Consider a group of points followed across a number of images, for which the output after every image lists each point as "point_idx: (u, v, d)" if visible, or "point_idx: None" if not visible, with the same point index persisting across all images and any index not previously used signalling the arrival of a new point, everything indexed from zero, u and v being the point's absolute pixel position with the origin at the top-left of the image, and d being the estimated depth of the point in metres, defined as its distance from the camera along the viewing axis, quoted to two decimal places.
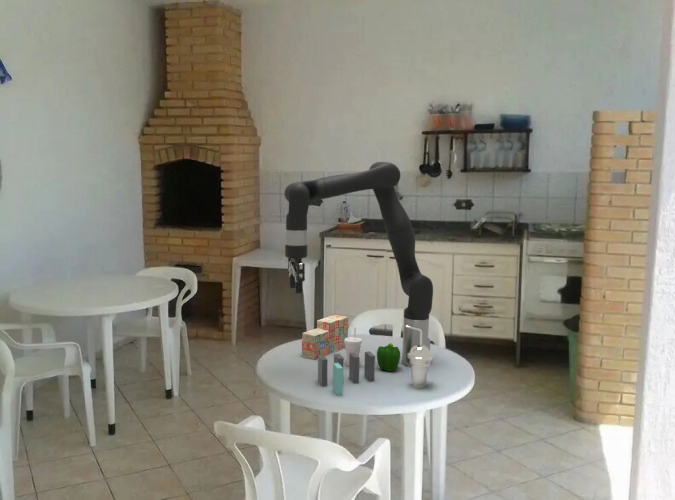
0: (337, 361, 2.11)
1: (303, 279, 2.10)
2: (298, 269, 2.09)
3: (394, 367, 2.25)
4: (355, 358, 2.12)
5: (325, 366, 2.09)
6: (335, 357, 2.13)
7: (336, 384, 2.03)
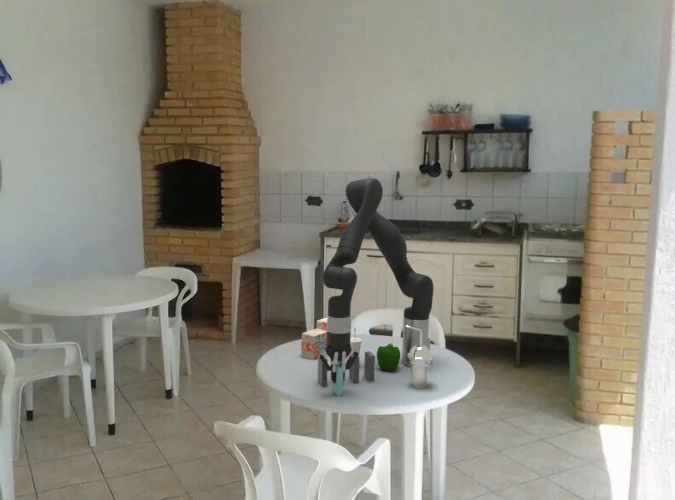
0: (337, 361, 2.11)
1: None
2: None
3: (394, 367, 2.25)
4: None
5: None
6: None
7: (336, 384, 2.03)
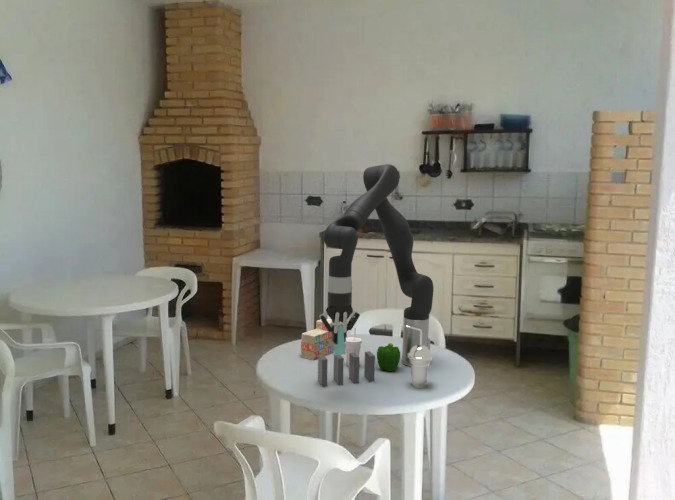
0: (337, 361, 2.11)
1: None
2: None
3: (394, 367, 2.25)
4: (355, 358, 2.12)
5: (325, 366, 2.09)
6: (335, 357, 2.13)
7: (338, 343, 2.00)
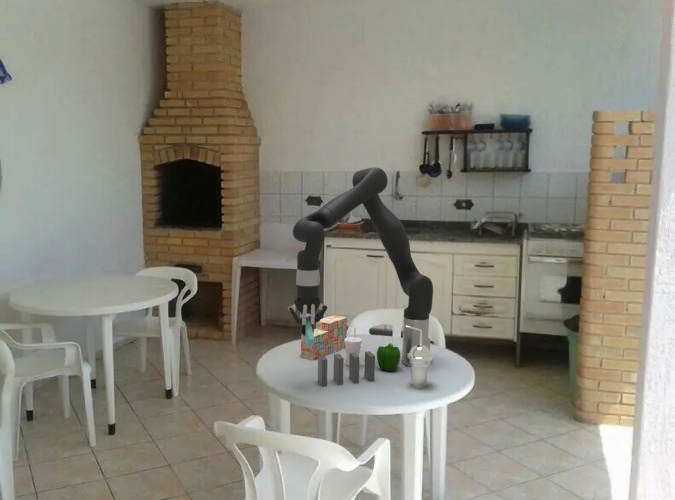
0: (337, 361, 2.11)
1: None
2: None
3: (394, 367, 2.25)
4: (355, 358, 2.12)
5: (325, 366, 2.09)
6: (335, 357, 2.13)
7: (306, 332, 2.06)
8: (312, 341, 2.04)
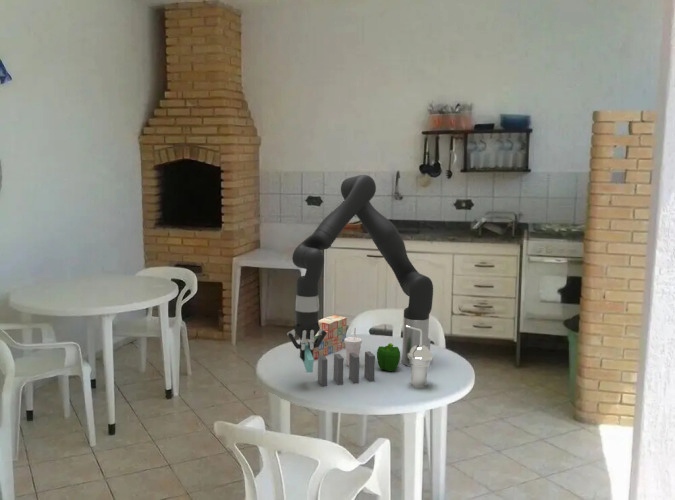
0: (337, 361, 2.11)
1: None
2: None
3: (394, 367, 2.25)
4: (355, 358, 2.12)
5: (325, 366, 2.09)
6: (335, 357, 2.13)
7: (305, 356, 2.07)
8: (312, 363, 2.04)
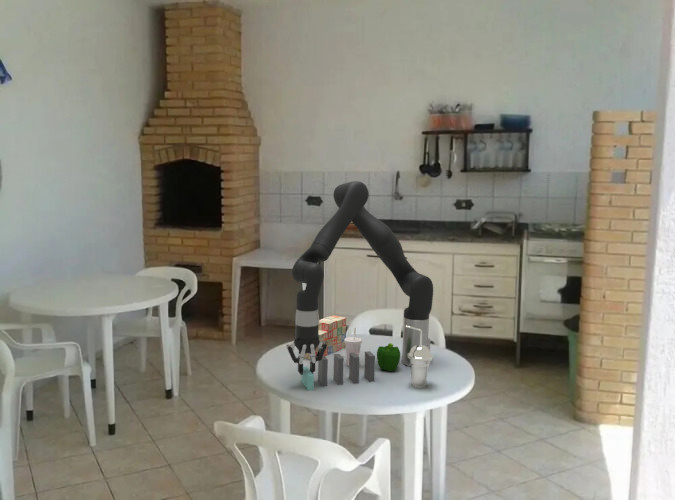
0: (337, 361, 2.11)
1: None
2: None
3: (394, 367, 2.25)
4: (355, 358, 2.12)
5: (325, 366, 2.09)
6: (335, 357, 2.13)
7: (305, 375, 2.09)
8: (312, 379, 2.06)
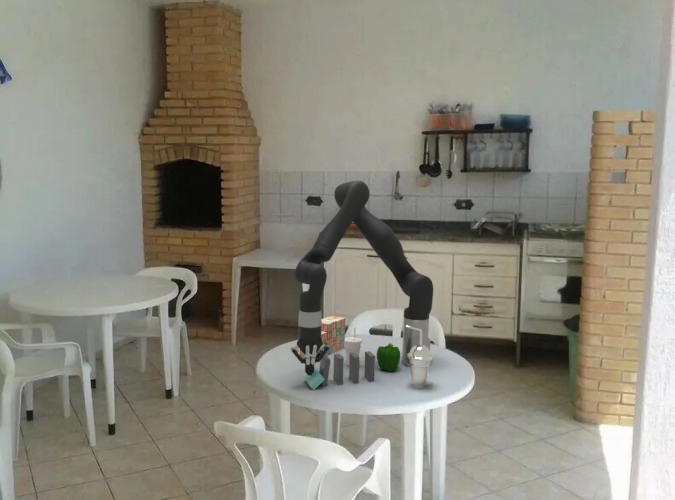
0: (337, 361, 2.11)
1: None
2: None
3: (394, 367, 2.25)
4: (355, 358, 2.12)
5: (327, 366, 2.09)
6: (335, 357, 2.13)
7: (316, 374, 2.10)
8: (321, 381, 2.07)
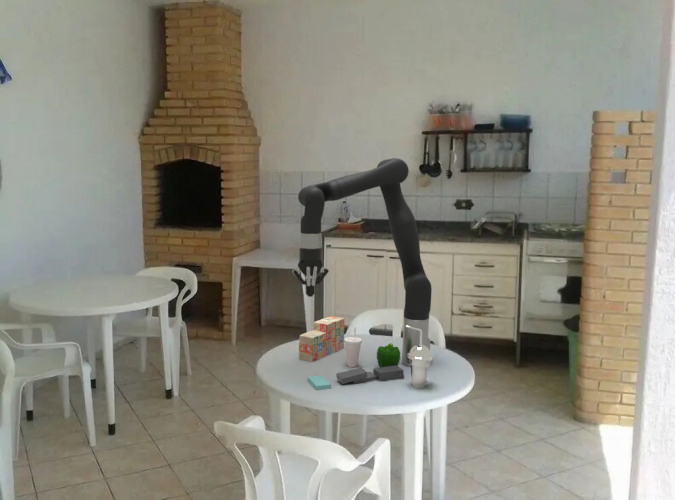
0: (372, 375, 2.17)
1: None
2: None
3: None
4: (402, 371, 2.19)
5: (360, 377, 2.13)
6: (371, 373, 2.20)
7: (324, 381, 2.11)
8: (327, 388, 2.08)
